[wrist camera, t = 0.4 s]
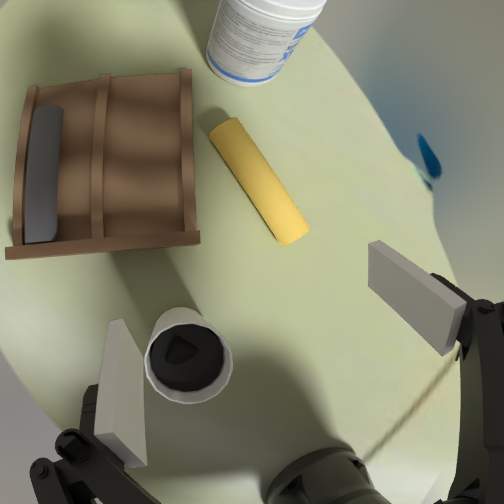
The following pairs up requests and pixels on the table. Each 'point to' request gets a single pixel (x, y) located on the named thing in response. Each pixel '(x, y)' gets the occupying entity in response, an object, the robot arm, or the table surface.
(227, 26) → the supplement tub
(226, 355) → the white cup
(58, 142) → the charcoal rod
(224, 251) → the table surface
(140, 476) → the table surface
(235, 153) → the ochre rod
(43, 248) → the walnut slot rack
